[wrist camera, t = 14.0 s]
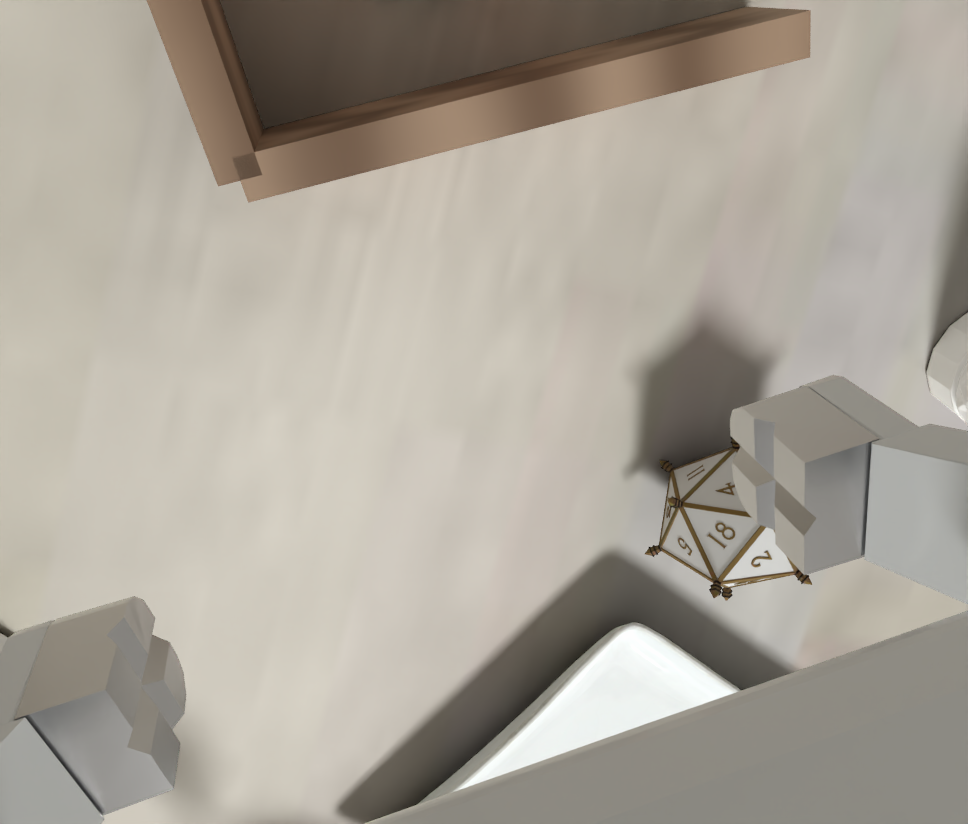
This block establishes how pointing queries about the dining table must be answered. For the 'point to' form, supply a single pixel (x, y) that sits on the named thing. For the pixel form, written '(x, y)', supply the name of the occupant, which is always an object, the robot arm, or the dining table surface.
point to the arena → (450, 94)
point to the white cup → (951, 369)
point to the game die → (717, 527)
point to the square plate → (597, 702)
